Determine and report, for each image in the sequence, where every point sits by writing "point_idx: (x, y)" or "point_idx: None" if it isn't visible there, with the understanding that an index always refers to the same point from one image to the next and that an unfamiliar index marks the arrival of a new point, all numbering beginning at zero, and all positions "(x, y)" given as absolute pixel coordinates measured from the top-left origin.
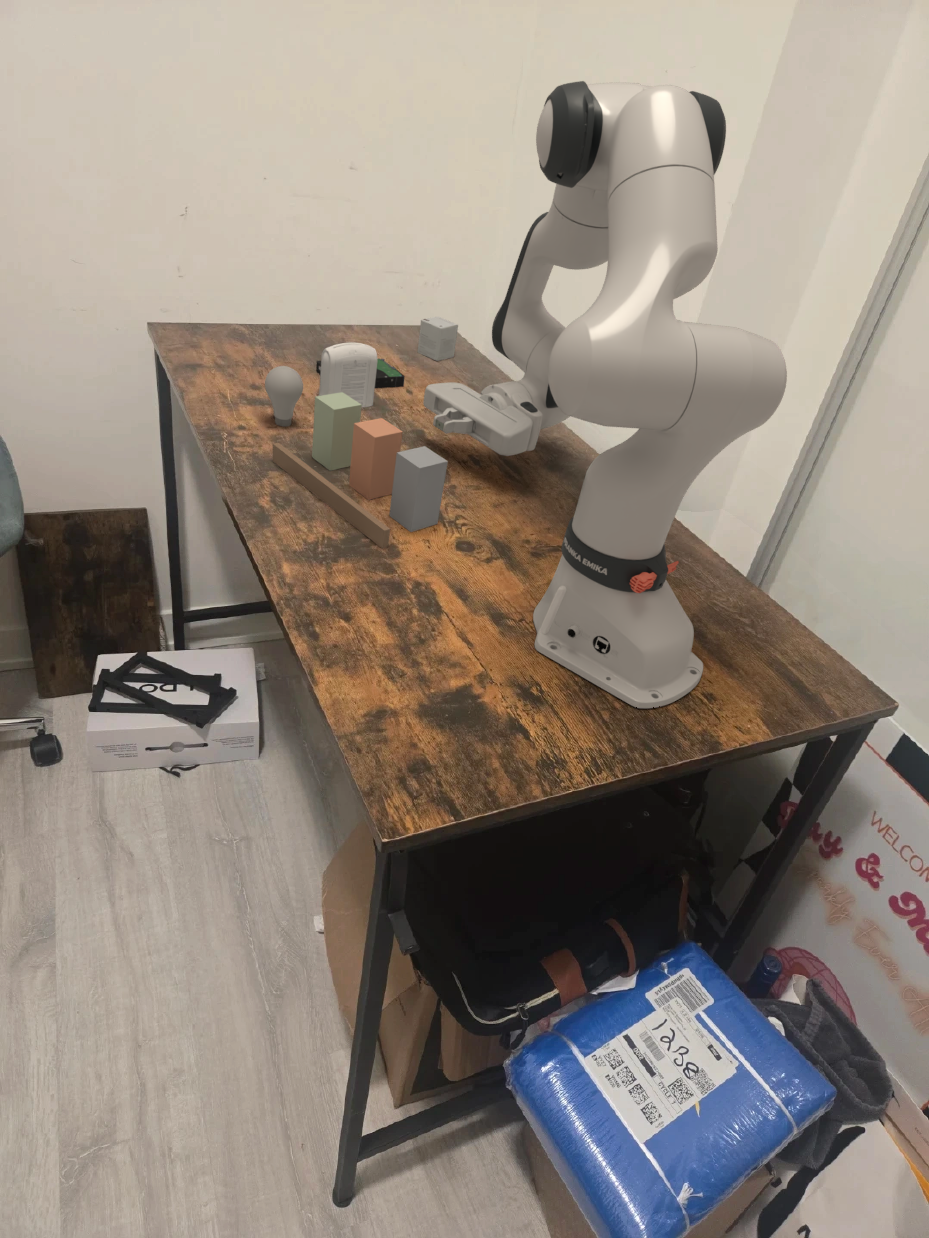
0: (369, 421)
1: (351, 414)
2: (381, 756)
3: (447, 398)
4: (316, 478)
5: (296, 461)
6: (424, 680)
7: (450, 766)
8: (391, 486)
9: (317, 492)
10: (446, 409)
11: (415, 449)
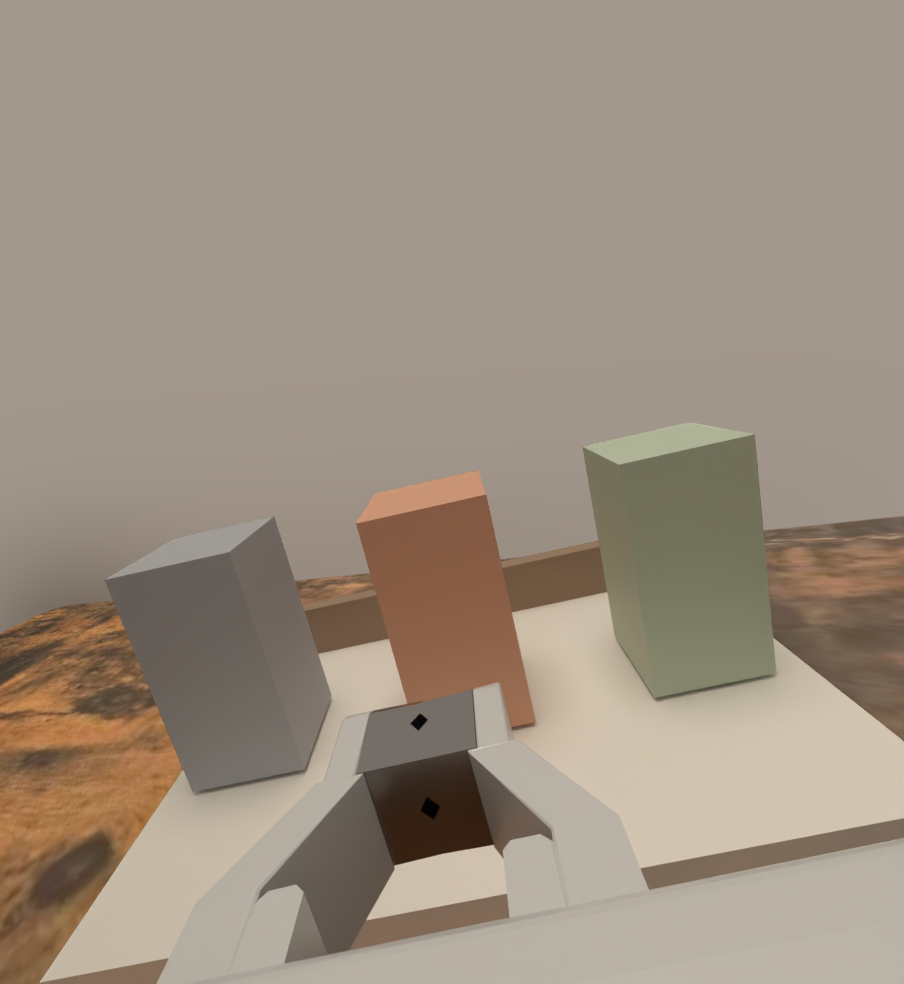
0: (472, 482)
1: (609, 487)
2: (85, 613)
3: (894, 864)
4: None
5: (577, 546)
6: (66, 655)
7: (5, 646)
8: None
9: None
10: (590, 800)
11: (241, 537)
